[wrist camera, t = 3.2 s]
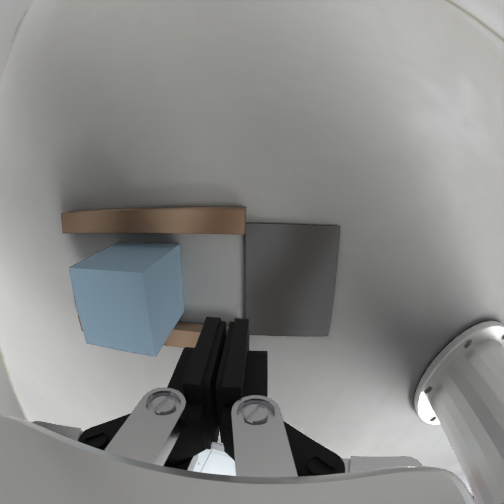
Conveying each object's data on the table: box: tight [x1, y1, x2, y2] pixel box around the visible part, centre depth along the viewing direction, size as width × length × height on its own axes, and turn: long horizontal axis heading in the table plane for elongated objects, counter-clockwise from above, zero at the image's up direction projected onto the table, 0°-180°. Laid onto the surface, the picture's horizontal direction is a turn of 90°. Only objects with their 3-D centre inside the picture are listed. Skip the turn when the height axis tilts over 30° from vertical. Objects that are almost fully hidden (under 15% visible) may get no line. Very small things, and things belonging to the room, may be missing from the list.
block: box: [69, 243, 185, 356], centre depth 17 cm, size 5×5×6 cm
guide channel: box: [61, 207, 340, 348], centre depth 19 cm, size 20×10×1 cm, turn 89°
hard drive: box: [193, 442, 236, 476], centre depth 25 cm, size 2×8×12 cm
